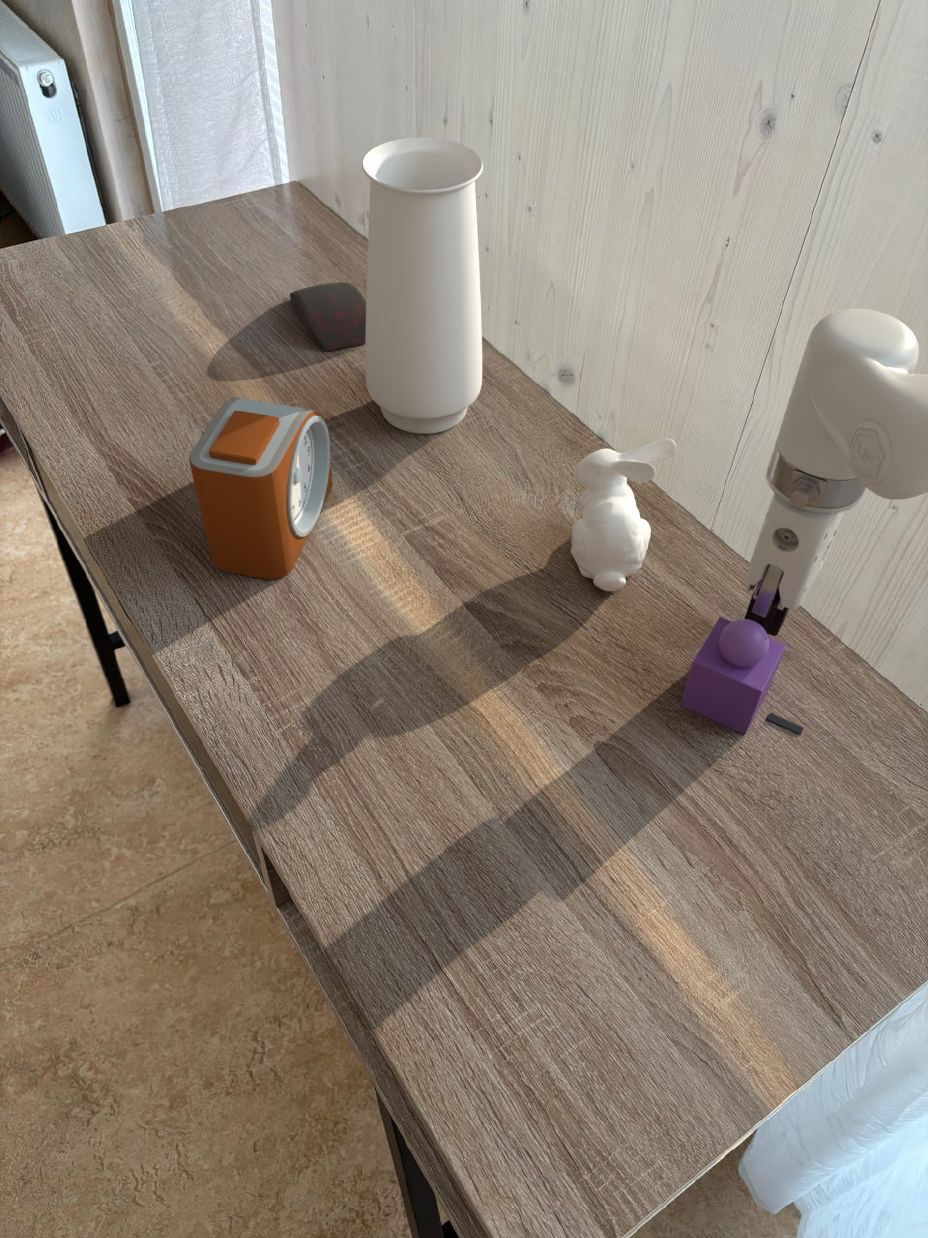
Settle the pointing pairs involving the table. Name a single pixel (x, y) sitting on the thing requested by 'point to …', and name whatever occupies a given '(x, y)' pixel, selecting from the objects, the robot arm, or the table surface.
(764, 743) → the table surface
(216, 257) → the table surface
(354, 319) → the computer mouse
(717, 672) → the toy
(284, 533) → the alarm clock
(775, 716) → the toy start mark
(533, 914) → the table surface
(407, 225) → the vase
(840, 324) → the robot arm
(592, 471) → the rabbit
